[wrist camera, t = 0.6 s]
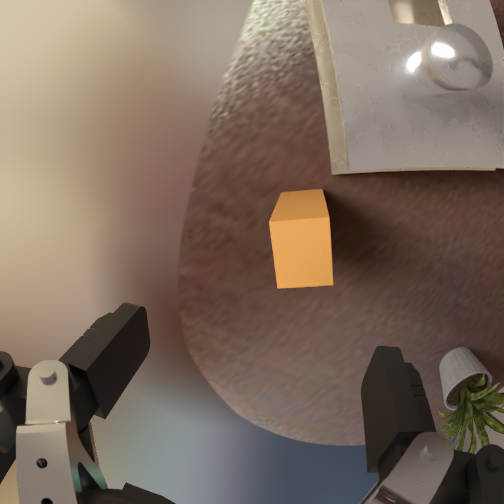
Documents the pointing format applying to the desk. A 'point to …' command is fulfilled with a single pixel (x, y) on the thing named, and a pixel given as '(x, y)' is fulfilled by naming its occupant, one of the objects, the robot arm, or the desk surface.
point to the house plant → (469, 397)
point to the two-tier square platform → (410, 84)
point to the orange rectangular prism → (301, 240)
